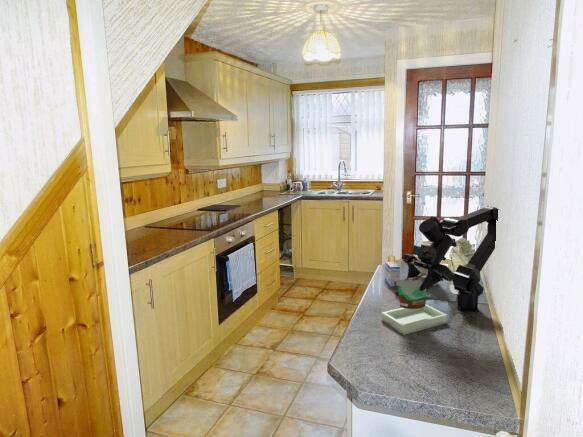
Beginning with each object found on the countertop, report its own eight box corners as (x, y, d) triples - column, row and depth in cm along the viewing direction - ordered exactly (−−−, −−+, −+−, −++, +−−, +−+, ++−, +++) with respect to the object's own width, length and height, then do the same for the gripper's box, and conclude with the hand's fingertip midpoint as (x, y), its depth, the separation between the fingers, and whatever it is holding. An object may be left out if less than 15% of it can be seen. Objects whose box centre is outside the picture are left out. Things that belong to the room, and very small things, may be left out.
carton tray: (422, 310, 154) (422, 302, 153) (447, 323, 143) (447, 314, 142) (381, 320, 147) (381, 312, 146) (403, 334, 136) (403, 326, 135)
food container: (409, 313, 136) (409, 283, 134) (396, 307, 141) (395, 279, 140) (437, 304, 142) (437, 275, 140) (423, 299, 147) (423, 271, 145)
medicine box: (384, 280, 186) (384, 261, 184) (394, 280, 186) (394, 261, 185) (390, 286, 178) (390, 267, 177) (400, 286, 179) (400, 266, 177)
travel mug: (417, 280, 185) (417, 240, 181) (436, 280, 184) (437, 240, 180) (420, 286, 177) (420, 245, 174) (439, 286, 176) (441, 245, 173)
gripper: (405, 231, 147) (381, 267, 144) (448, 241, 131) (421, 283, 128) (422, 248, 152) (398, 284, 149) (465, 261, 136) (439, 301, 133)
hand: (413, 287), depth 140 cm, fingers closed on food container, 6 cm apart
